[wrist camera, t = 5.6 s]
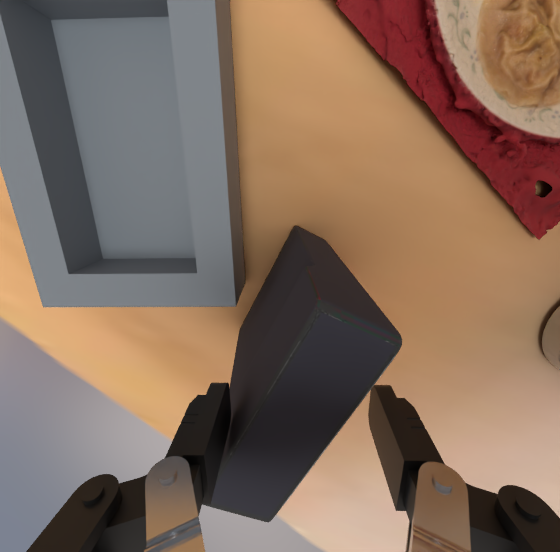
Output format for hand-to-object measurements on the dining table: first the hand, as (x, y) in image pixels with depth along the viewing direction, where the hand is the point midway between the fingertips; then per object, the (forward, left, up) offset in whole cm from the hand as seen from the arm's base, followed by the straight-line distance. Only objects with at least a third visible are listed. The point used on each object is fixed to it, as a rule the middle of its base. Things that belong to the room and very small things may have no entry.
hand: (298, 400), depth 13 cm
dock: (+11, -11, -14) cm, 21 cm away
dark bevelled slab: (+1, 0, -14) cm, 14 cm away
